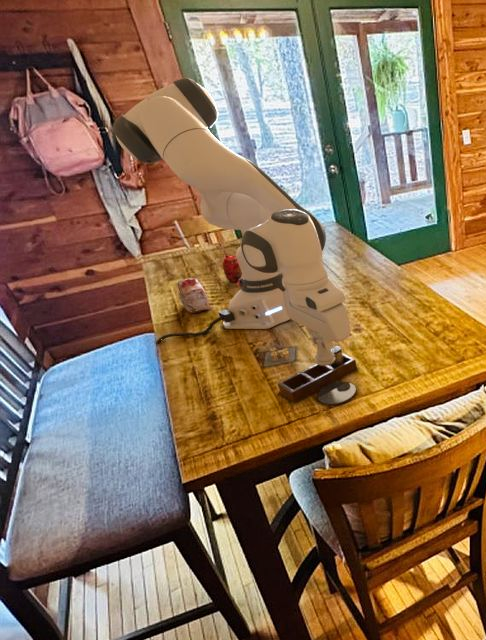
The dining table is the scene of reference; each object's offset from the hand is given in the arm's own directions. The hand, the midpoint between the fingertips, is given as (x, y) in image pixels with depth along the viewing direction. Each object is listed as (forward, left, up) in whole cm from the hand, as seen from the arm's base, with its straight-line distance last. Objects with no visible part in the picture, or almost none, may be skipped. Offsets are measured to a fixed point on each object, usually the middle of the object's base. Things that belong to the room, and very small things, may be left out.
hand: (323, 345), depth 111 cm
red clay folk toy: (-53, +84, -14) cm, 100 cm away
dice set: (-19, +21, -14) cm, 31 cm away
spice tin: (-1, +11, -14) cm, 17 cm away
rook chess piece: (0, 0, -4) cm, 4 cm away
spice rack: (-5, +7, -14) cm, 16 cm away
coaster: (0, 0, -14) cm, 14 cm away
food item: (-58, +60, -14) cm, 84 cm away
